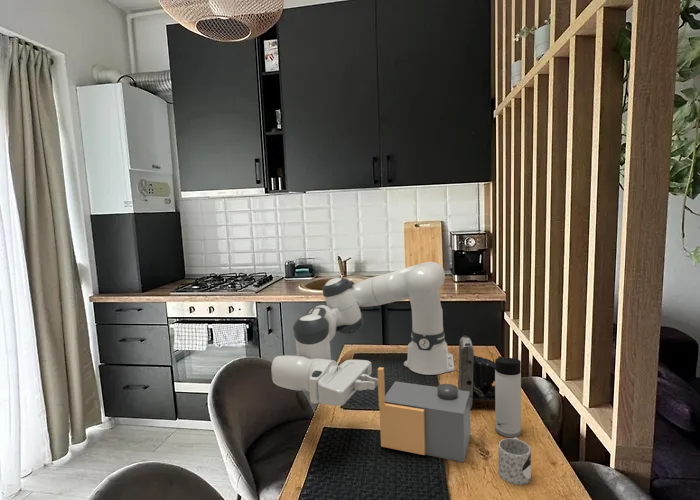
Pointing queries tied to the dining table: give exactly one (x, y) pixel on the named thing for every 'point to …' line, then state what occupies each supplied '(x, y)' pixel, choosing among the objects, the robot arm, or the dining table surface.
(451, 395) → the housing
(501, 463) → the mug
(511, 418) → the travel mug
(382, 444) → the side door
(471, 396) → the vintage camera
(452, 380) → the dining table surface
